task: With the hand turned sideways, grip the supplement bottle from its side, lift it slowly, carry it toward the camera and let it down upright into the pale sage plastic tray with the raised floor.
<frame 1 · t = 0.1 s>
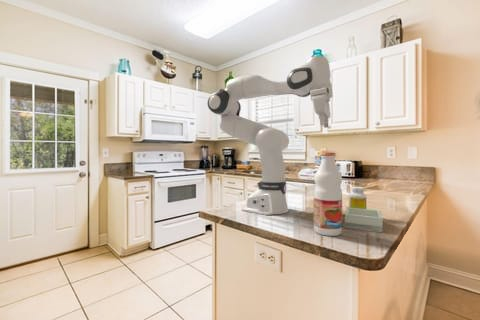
hand: (324, 126, 100), 39 cm above the table, tool pointing down, fingers open, 8 cm apart
supplement bottle: (357, 217, 100), on the table
fruit juice: (327, 232, 83), on the table
sage tray: (362, 225, 89), on the table
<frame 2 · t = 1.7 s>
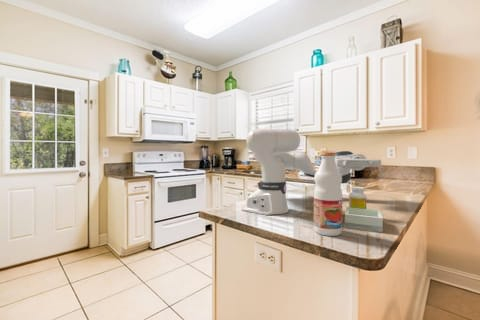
hand: (357, 163, 112), 22 cm above the table, tool horizontal, fingers open, 8 cm apart
nothing on the table moved.
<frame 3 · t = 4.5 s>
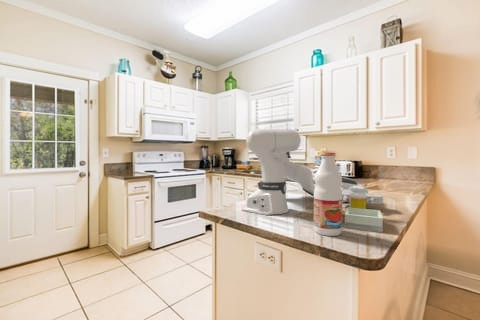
hand: (358, 200, 107), 6 cm above the table, tool horizontal, fingers open, 8 cm apart
nothing on the table moved.
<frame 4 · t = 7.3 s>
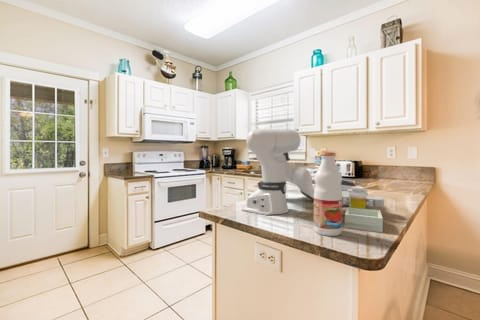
hand: (357, 203, 99), 6 cm above the table, tool horizontal, fingers closed on supplement bottle, 7 cm apart
supplement bottle: (357, 217, 100), on the table, touching gripper
everything else where it was.
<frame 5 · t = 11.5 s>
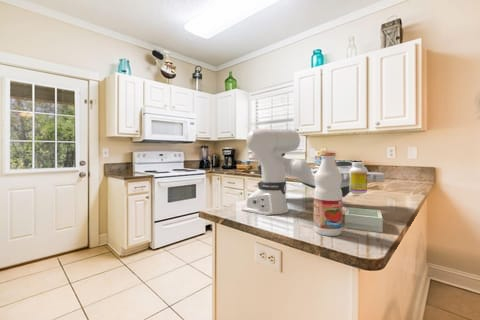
hand: (357, 178, 99), 17 cm above the table, tool horizontal, fingers closed on supplement bottle, 7 cm apart
supplement bottle: (357, 192, 100), point 10 cm above the table, touching gripper
everything else where it was.
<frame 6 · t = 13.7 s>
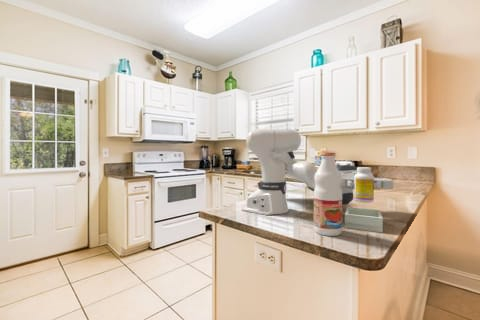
hand: (363, 185, 88), 16 cm above the table, tool horizontal, fingers closed on supplement bottle, 7 cm apart
supplement bottle: (363, 201, 89), point 9 cm above the table, touching gripper
everything else where it was.
when the fingers open (12 cm above the table, at t = 15.5 s): supplement bottle drops 4 cm, resting on sage tray.
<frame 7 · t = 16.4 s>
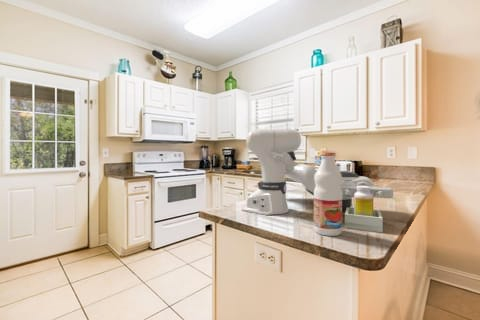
hand: (363, 194, 88), 12 cm above the table, tool horizontal, fingers open, 8 cm apart
supplement bottle: (363, 220, 89), point 2 cm above the table, touching sage tray
everything else where it was.
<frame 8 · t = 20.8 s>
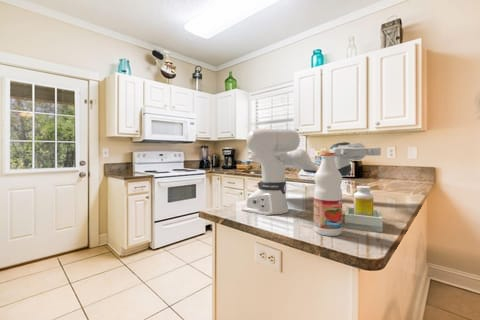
hand: (356, 151, 107), 28 cm above the table, tool horizontal, fingers open, 8 cm apart
nothing on the table moved.
at the end: supplement bottle inside the target area on the sage tray (0.1 cm from its centre), point 1.8 cm above the sage tray's base; supplement bottle tilted 0°; the gripper is holding nothing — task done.
